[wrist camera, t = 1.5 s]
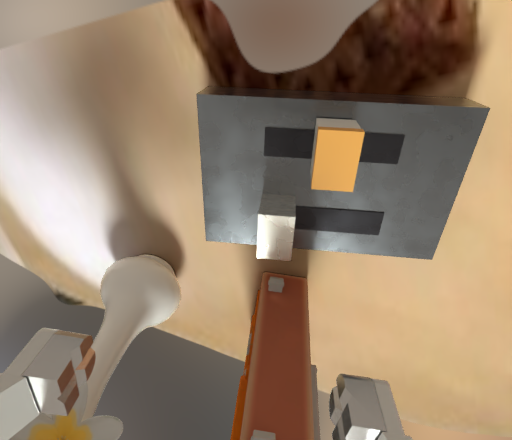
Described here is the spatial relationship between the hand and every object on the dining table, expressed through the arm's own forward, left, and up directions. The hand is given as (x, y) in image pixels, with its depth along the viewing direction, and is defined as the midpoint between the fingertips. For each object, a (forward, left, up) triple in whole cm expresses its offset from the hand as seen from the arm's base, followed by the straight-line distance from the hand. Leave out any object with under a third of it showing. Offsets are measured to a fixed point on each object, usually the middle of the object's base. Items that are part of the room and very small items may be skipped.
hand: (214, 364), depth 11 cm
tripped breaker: (-5, -1, -20) cm, 20 cm away
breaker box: (-5, +2, -24) cm, 24 cm away
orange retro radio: (-2, +22, -24) cm, 33 cm away
